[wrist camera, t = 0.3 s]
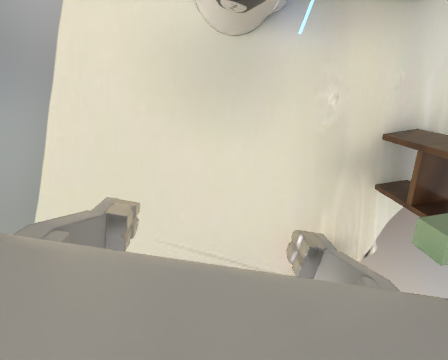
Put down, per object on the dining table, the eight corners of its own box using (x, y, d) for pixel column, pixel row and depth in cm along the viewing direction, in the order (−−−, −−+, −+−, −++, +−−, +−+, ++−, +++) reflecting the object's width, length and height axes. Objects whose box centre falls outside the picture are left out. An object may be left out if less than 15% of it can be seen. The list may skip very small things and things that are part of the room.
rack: (359, 191, 56) (456, 260, 34) (365, 136, 50) (488, 176, 28) (406, 184, 55) (534, 248, 33) (417, 129, 50) (581, 162, 28)
